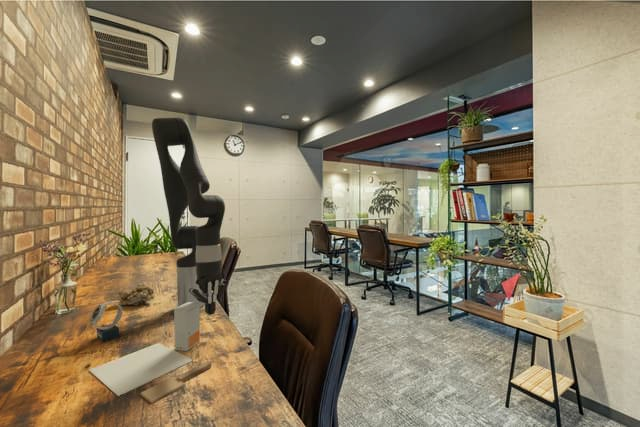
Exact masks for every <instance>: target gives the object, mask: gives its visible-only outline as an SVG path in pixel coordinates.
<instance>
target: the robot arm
mask: <svg viewBox="0 0 640 427" xmlns="http://www.w3.org/2000/svg"><path fill="white" fill-rule="evenodd" d="M151 129H152V135H153V139H154V143H155V144H154V145H155V147H156V152H157V155H158V160H159V165H160V171H161V176H162V177H161V179H162V185H163V192H164V196H165V201H166V207H167V212H168V218H169V229H170V238H171V239H170V240H171V244H172V248H174V249H176V250H187V249H188V250H191V252H190V253H188V254H187V255H184V256H181V257H179V258H178V259H176V284H177V286H176V287H177V289H176V290H177V307H179V306H180V305H182V304H185V303H187V302H194V303H199V309H200V308H202V307H203V306H204V312H205V313H206V315H208V316H212V315H215V312H216V311H217V307H216V306H217V305H216V302H217V300H219V299H220V298H222V296H223V294H224V292H225V291H226V288H228V287H227V286H228V284H229V280H225V279H224V278H223V275H222V272H223V266H222V265H223V264H222V262H223V259H222V257H223V256H222V247H221V228H222V224H223V220H224V217H225V213H226V212H225V211H226V204H225V202H224V200H223V198H222V197H221V196H219V195H215V194H211V195H210V194H207V195H206V194H205V193H207V192H208V191H209V189H210V181H209V180H208V178H207V176H206V175H207V174H205V170H204V168H203V167H202V164H201V161H200V159H199V155H198V151H197V148H196V143H195V141H194V137H193V134H192V131H191V129H190V126H189V124H188V122H187V121H186V119H184V118H183V117H156V118H153V120H152V122H151ZM174 146H183V147H184V153H183V157H182V159H181V162H180V165H178V163H176V161H175V160H174V159H173V157H172V155H171V154H170V151H169V147H174ZM187 208H188V210H189V211H188V212H189V213H190V214H191V215H192V216H193V217H195V218H197V219H205V218H207V221H206V223H205V224H203V225H200V226H198V225H184V226H183V225H181V219H182V217H183V215H184V213H185V211H186V210H187Z"/></svg>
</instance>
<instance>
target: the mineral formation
mask: <svg viewBox="0 0 640 427" xmlns="http://www.w3.org/2000/svg"><path fill="white" fill-rule="evenodd" d="M117 295H118V296H117V297H116V300H117V301H118V302H119V303H117V304H118V305H120V306H126V305H133V306H135V307H136V306H139V304H142V303H143V302H144V303H145V302H147V301H148V300H153V299H155V297H156V296H155V289H154V288H152V287H151V286H148V285H146V284H145V283H144V282H141V283H138V284H137V287H135V288H133V289H132V290H131V291H130V290H125V289H123V290H118V292H117Z"/></svg>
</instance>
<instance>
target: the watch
mask: <svg viewBox="0 0 640 427" xmlns="http://www.w3.org/2000/svg"><path fill="white" fill-rule="evenodd" d="M118 304H119V303H117V302H113V301H106V302H103V303H101V304H99V305H97V306H96V307H95V308H94V310H92V313H91V317H90V322H91V324H92V325H93V326H94V327H95V328H96V338H97V340H99V341H100V342H101V343H106V342H109V341H113V340H115V339H119V338H120V328H119V326H117V325H118V323H119V322H120V321H121V319H122V317H123V313H124V312H123V307H122V305H118ZM109 305H116V306H117V308H118V310H117V312H116V316H115V318H114V319H113V321H112V323H110V324H106V325H103V326H98V325H97V324H98V322H99V321H100V320H101V319H102V317H103V316H104V314H105V310H106V309H107V307H108V306H109Z"/></svg>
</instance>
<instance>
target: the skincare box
mask: <svg viewBox="0 0 640 427" xmlns="http://www.w3.org/2000/svg"><path fill="white" fill-rule="evenodd" d="M173 316H174V317H173V321H174V322H173V323H174V351H181V352H182V351H183V352H188V351H189V350H191V349H192V348H193V347H195V346H196V345H197V344H199V343H200V342H201V329H200V328H201V327H200V325H201V324H200V321H201V319H200V318H201V317H200V308H199V303H194V302H187V303H185V304H182V305H180V306H179V307H178V306H177V307H175V308H173Z"/></svg>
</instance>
